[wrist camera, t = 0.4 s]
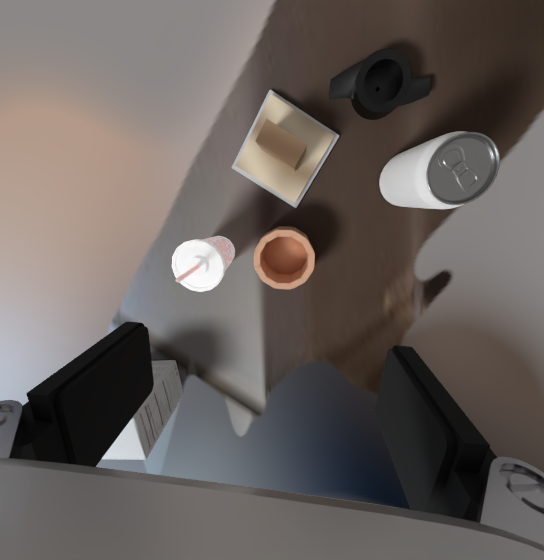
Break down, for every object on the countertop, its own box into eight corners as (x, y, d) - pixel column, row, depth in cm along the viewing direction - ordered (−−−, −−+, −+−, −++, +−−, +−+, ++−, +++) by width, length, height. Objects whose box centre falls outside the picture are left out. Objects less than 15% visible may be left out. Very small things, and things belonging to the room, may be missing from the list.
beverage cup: (245, 239, 37) (217, 263, 23) (232, 277, 39) (199, 318, 25) (206, 223, 37) (154, 238, 23) (194, 262, 38) (141, 295, 25)
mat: (270, 90, 31) (269, 89, 30) (339, 136, 32) (339, 135, 31) (232, 168, 34) (231, 167, 34) (296, 208, 35) (296, 208, 34)
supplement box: (147, 394, 47) (96, 460, 35) (137, 359, 45) (79, 418, 33) (185, 393, 46) (146, 462, 34) (177, 358, 44) (132, 418, 32)
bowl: (276, 215, 35) (273, 218, 30) (322, 244, 36) (326, 250, 31) (250, 260, 38) (243, 269, 33) (293, 286, 38) (293, 299, 33)
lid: (271, 95, 31) (265, 73, 25) (333, 137, 31) (341, 124, 26) (236, 166, 33) (224, 160, 28) (294, 202, 34) (294, 203, 29)
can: (411, 139, 31) (477, 105, 20) (442, 180, 32) (522, 170, 21) (367, 179, 33) (405, 169, 21) (398, 216, 34) (450, 225, 22)
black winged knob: (385, 148, 32) (393, 143, 29) (321, 97, 31) (324, 87, 28) (431, 87, 30) (445, 75, 27) (364, 29, 29) (371, 11, 26)
